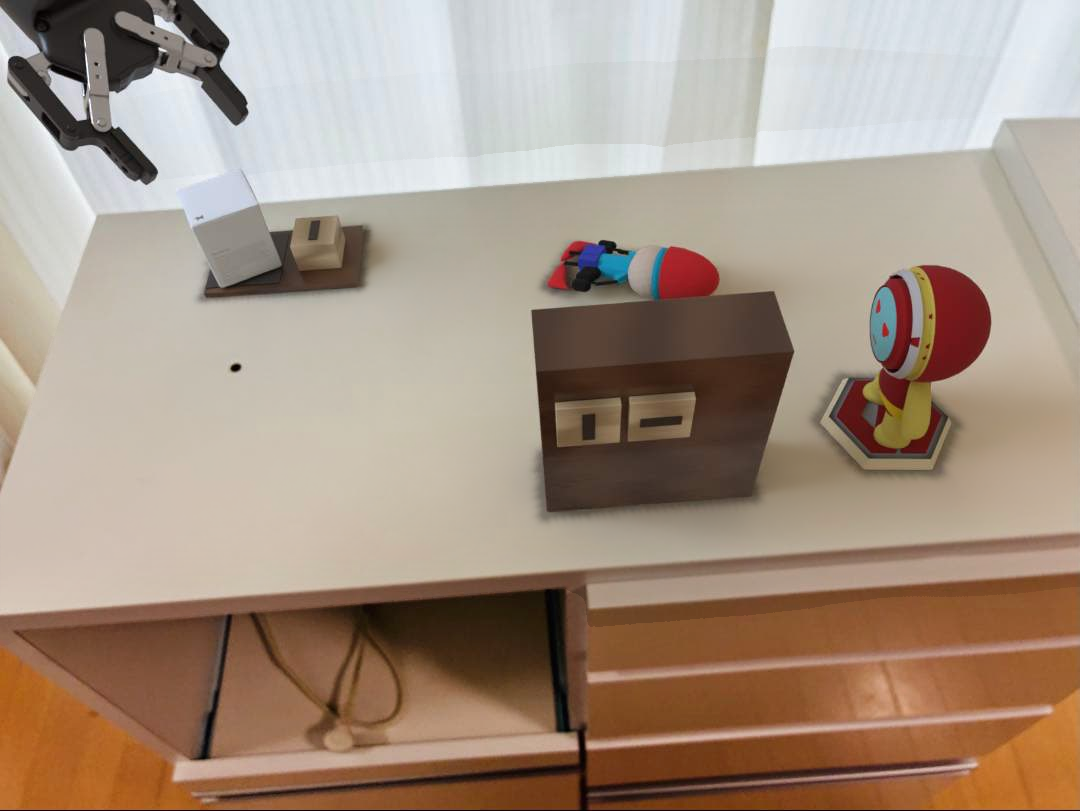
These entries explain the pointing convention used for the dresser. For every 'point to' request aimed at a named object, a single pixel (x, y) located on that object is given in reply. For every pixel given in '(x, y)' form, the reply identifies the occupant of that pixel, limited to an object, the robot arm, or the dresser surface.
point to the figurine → (910, 368)
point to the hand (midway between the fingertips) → (199, 148)
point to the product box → (229, 227)
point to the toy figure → (639, 270)
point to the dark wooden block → (657, 398)
